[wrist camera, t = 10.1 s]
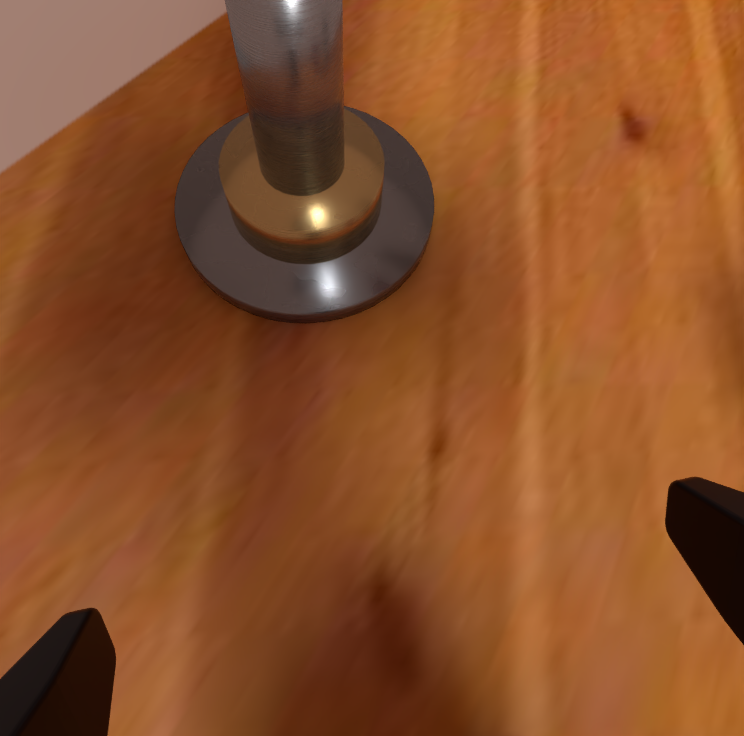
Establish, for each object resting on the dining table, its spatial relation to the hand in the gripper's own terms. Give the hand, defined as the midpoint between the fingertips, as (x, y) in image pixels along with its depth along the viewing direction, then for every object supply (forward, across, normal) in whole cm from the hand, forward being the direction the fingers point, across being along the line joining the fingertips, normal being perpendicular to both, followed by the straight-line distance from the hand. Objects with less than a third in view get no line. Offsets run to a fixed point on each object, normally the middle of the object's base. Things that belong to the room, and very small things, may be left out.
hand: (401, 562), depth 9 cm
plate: (+22, 0, -2) cm, 22 cm away
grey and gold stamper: (+21, 0, -3) cm, 21 cm away
